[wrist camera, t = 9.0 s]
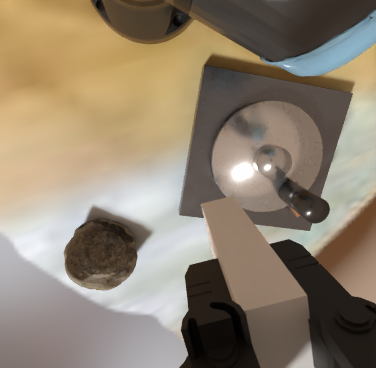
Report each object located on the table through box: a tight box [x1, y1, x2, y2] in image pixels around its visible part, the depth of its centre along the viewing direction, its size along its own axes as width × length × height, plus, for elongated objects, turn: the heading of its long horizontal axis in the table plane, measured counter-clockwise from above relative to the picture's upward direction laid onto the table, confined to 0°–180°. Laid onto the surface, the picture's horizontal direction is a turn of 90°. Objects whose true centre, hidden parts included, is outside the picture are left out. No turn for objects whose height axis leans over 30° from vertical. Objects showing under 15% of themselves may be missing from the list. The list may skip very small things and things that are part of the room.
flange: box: [211, 101, 330, 223], centre depth 35 cm, size 18×16×9 cm
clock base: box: [179, 65, 353, 231], centre depth 38 cm, size 22×22×7 cm
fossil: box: [64, 219, 137, 290], centre depth 41 cm, size 11×9×10 cm
